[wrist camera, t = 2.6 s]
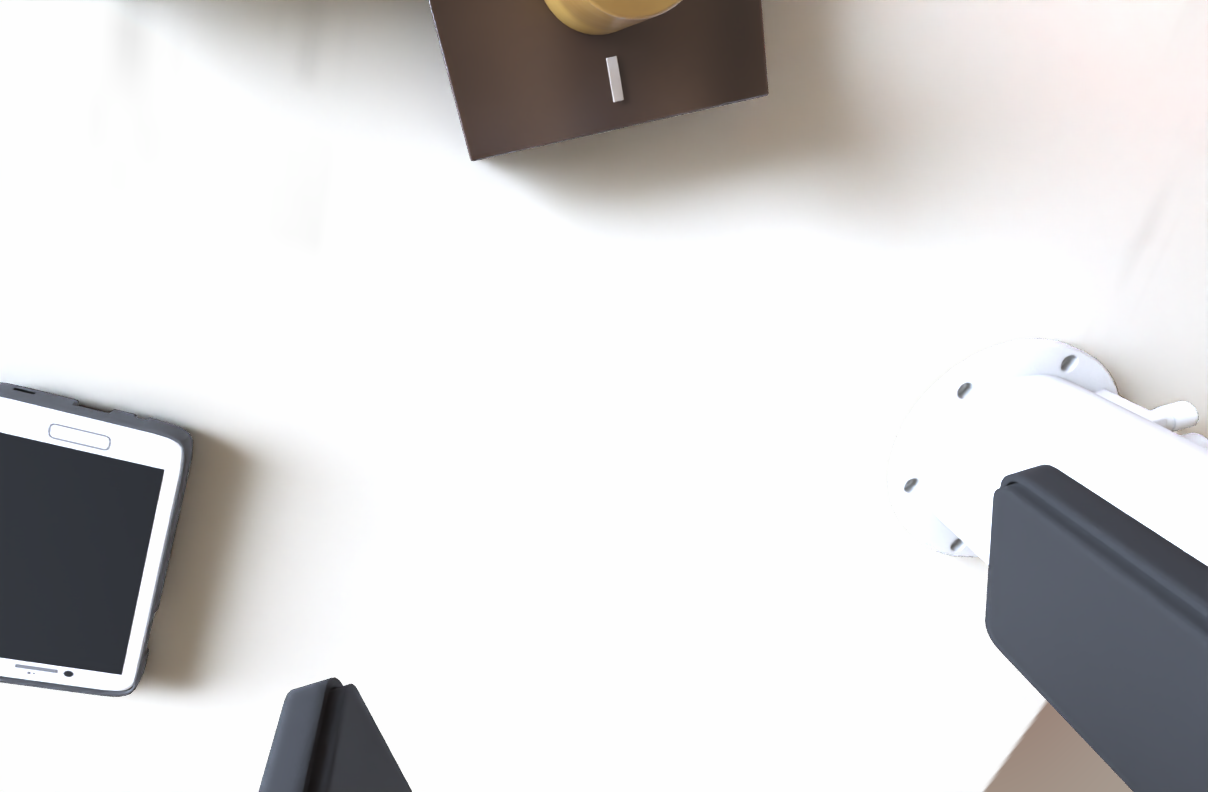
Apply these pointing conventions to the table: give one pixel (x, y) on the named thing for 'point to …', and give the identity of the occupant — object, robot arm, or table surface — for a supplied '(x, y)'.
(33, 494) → the cell phone
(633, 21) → the knob
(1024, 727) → the table surface
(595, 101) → the knob panel
